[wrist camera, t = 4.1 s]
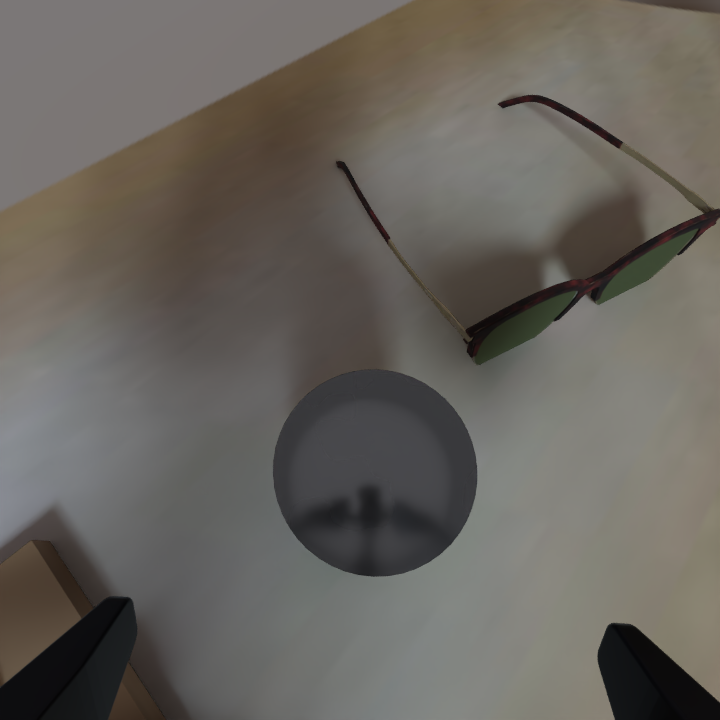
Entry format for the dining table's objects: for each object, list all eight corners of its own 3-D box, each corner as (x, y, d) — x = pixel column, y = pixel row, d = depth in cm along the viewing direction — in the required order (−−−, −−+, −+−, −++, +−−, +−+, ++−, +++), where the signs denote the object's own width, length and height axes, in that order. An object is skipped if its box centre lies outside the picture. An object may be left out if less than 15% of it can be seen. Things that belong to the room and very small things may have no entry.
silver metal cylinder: (434, 510, 20) (518, 469, 11) (355, 592, 18) (372, 629, 9) (361, 431, 21) (378, 334, 12) (281, 504, 20) (230, 458, 10)
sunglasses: (447, 385, 22) (469, 333, 18) (315, 188, 28) (307, 112, 24) (668, 274, 26) (734, 206, 21) (508, 117, 31) (532, 38, 27)
